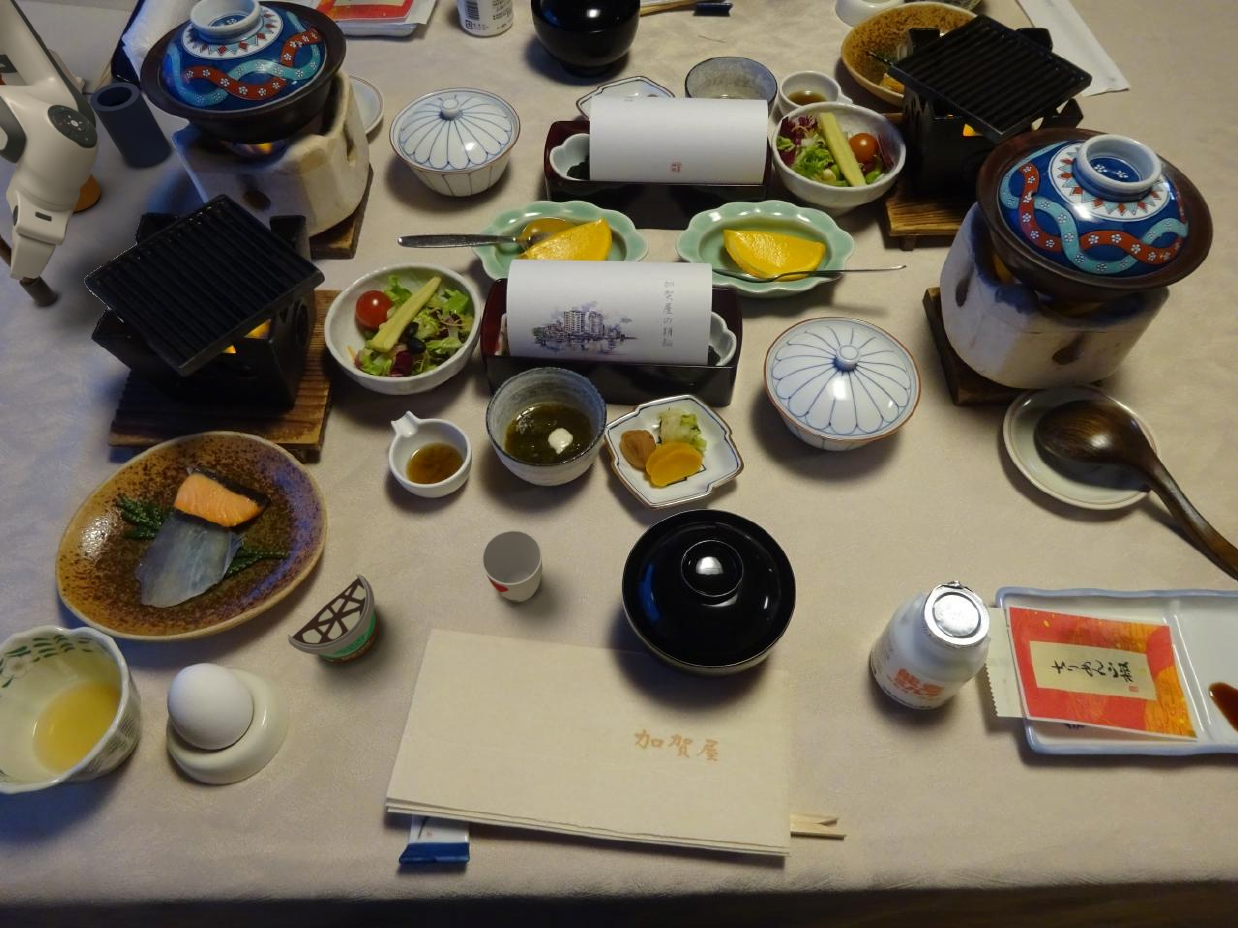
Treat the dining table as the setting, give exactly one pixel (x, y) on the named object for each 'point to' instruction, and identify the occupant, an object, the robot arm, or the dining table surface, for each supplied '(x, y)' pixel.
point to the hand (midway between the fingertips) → (16, 257)
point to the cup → (513, 564)
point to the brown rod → (29, 280)
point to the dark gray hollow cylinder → (130, 124)
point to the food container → (342, 626)
